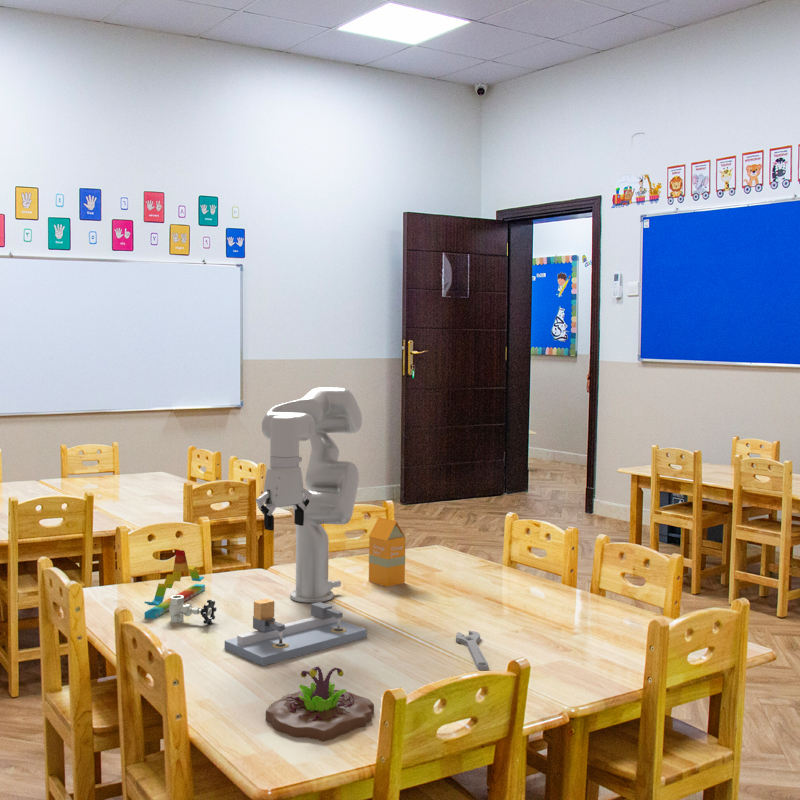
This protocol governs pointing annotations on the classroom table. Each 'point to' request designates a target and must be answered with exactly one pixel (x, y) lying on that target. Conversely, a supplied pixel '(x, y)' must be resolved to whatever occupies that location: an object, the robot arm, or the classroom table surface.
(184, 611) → the valve
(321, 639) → the bolt hole plate
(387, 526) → the orange juice
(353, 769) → the classroom table surface
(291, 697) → the plant
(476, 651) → the adjustable wrench
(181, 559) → the chart
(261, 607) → the divider leg
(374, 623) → the classroom table surface
